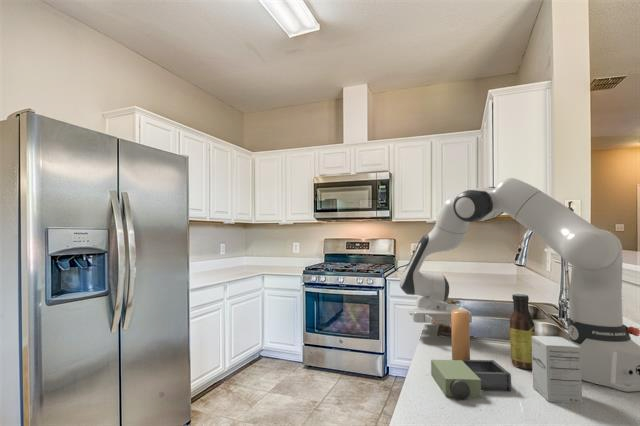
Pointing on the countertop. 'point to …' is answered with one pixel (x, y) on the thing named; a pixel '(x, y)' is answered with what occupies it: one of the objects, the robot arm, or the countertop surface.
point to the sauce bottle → (521, 332)
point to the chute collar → (490, 375)
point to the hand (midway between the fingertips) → (447, 321)
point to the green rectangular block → (456, 379)
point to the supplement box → (557, 369)
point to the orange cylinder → (460, 335)
